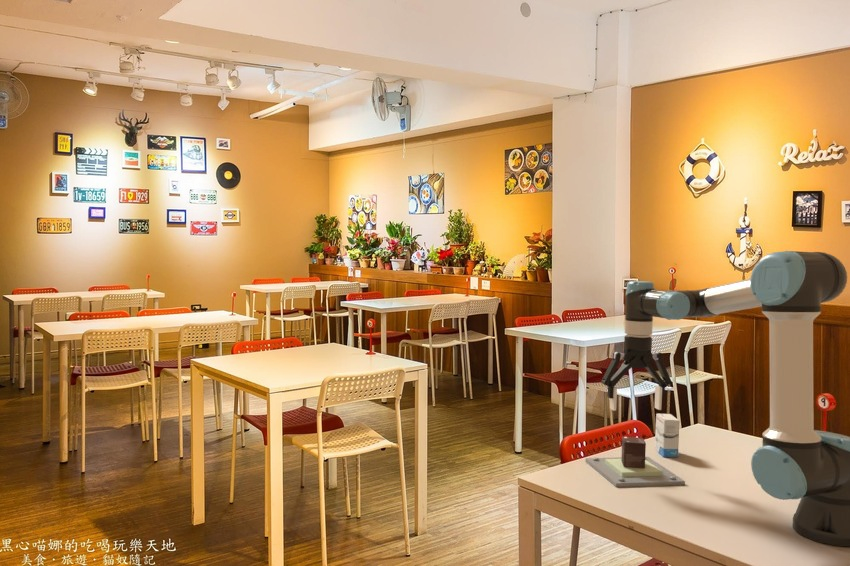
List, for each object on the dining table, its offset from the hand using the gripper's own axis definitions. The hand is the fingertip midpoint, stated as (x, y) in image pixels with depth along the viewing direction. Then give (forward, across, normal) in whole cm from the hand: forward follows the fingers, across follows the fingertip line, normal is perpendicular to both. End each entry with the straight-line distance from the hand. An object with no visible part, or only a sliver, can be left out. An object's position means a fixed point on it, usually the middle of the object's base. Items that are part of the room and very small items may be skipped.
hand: (635, 409), depth 202 cm
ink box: (+19, -19, -17) cm, 32 cm away
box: (+16, 0, 0) cm, 16 cm away
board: (+18, 0, 0) cm, 18 cm away
